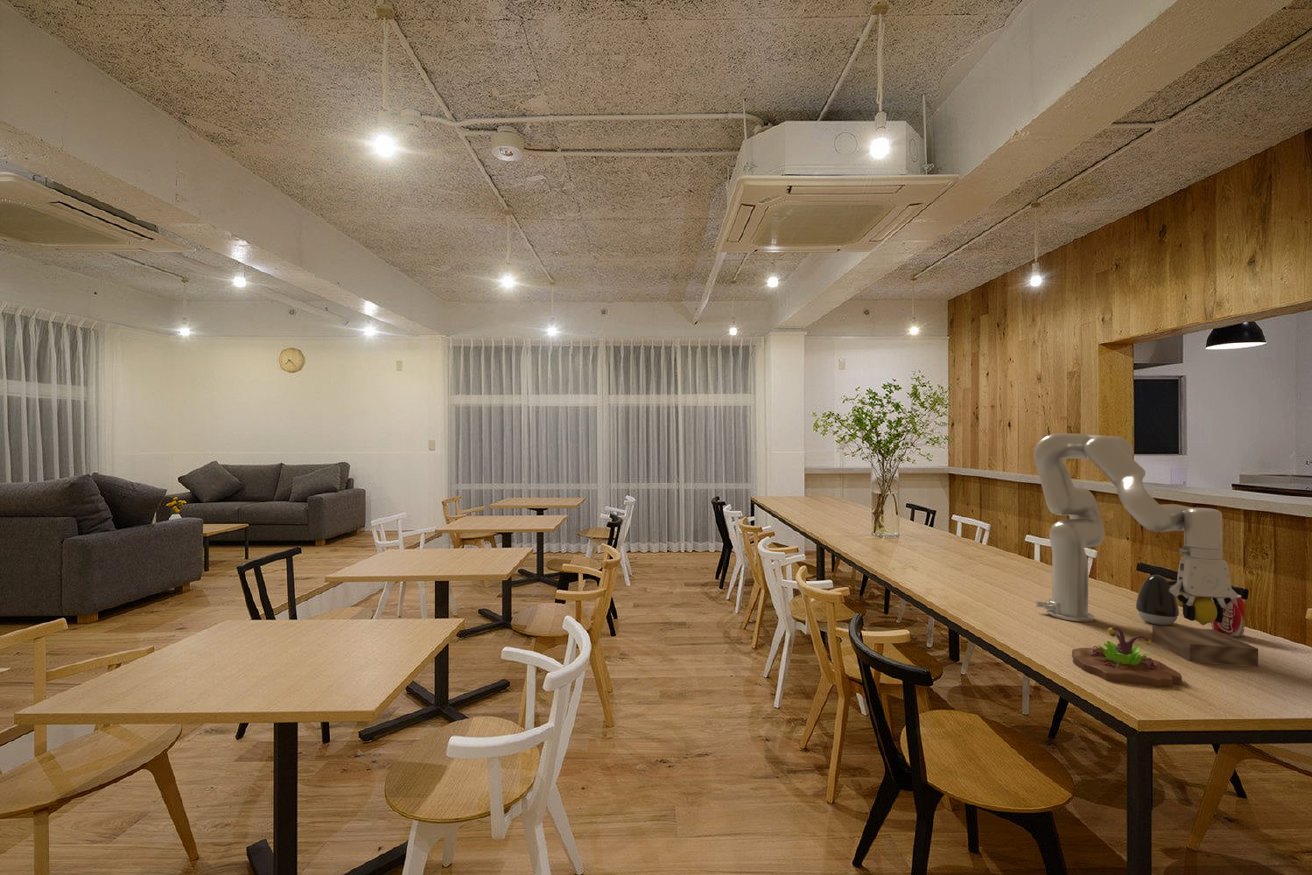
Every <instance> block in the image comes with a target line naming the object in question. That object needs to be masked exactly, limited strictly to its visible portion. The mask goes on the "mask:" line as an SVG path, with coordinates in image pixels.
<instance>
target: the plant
mask: <svg viewBox="0 0 1312 875" xmlns="http://www.w3.org/2000/svg"><path fill="white" fill-rule="evenodd" d="M1116 631H1118V633H1119V634H1118V633H1117V632H1116ZM1107 632H1108V634H1109V636H1110V637H1112V638H1114V637H1116V638H1117V640H1118V643H1117V645H1116V644H1115V643H1113V641H1109V640H1105V641H1106V642H1103V643H1102V644H1103V645H1104V647H1103V646H1102V645H1098V644H1097V645H1094V646H1093V647H1080V648H1073V649H1072V650H1071V653H1072V654H1071V657H1072V663H1073V664H1074V665H1075V666H1076V667H1078V668H1079V669H1080V668H1081V669H1080V670H1082V671H1083V672H1086V673H1089V674H1091V675H1094V676H1097V677H1098V678H1100V679H1102V680H1104V681H1105V682H1112V683H1116V684H1129V685H1135V686H1147V687H1153V688H1159V689H1161V688H1169V689H1170V688H1172V689H1173V687H1174V685H1175V686H1182V684H1183V676H1182V674H1181V673H1180V672H1179V671H1177V670H1175V669H1173V668H1171V667H1170V666H1168V665H1166V664H1165V663H1162V661H1159V660H1156V659H1152V657H1148V656H1149V654H1145V653H1144V654H1141V655H1140V654H1139V653H1140V652H1141V651H1142V649H1141V647H1140V646H1133V645H1134V643H1135V641H1136V640H1138V639H1144V642H1145V644H1146V645H1147V646H1151V645H1152V643H1153V642H1152V640H1151V639H1149V638H1148V637H1145V636H1143V635H1135V636H1133V637H1131V638H1130V639H1129V640H1128V641H1126V637H1125V634H1124V632H1123V630H1122V629H1121V628H1120V627H1118V626H1117V627H1116V626H1113V627H1112V626H1111V627H1109V628H1108V629H1107ZM1105 647H1106V648H1105Z"/></svg>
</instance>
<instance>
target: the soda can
mask: <svg viewBox="0 0 1312 875" xmlns="http://www.w3.org/2000/svg"><path fill="white" fill-rule="evenodd" d="M1210 600H1211V601H1212V599H1211V598H1210ZM1245 609H1246V608H1245V601H1244V600H1243V598H1242V595H1240V594H1238V596H1237V597H1236V598H1234V599H1233V600H1231V602H1229V603H1228V604H1227V605H1226V607H1225V608H1223V619H1222V623H1219V622H1217V621H1213V622H1211V623H1210V624H1211V625H1210V626H1211V627H1210V628H1211V629H1213V630H1216V631H1218V632H1221V633H1223V634H1225V635H1228V636H1230V637H1232V638H1239V637H1242V636H1244V634H1245V624H1246V622H1245V621H1246V620H1245V613H1246V612H1245ZM1243 628H1244V629H1243Z"/></svg>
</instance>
